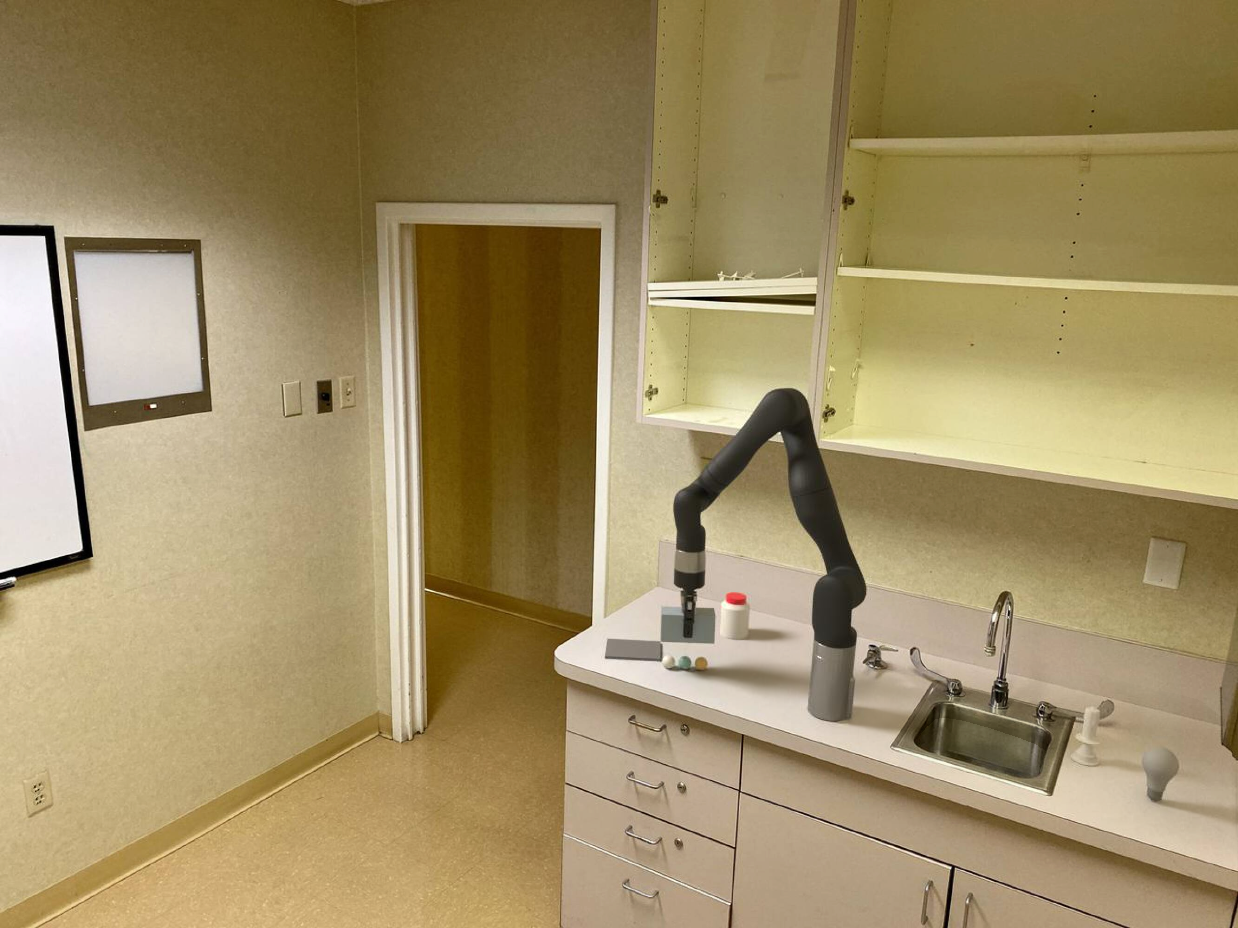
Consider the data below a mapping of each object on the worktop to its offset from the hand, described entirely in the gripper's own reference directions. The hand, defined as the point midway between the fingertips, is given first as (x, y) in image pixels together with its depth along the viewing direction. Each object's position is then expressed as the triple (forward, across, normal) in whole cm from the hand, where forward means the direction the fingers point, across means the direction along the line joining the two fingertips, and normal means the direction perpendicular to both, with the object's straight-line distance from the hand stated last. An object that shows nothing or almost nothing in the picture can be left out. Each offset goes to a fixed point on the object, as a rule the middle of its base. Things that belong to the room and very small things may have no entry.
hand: (687, 632), depth 221 cm
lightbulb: (+12, -48, -88) cm, 101 cm away
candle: (+12, -33, -82) cm, 89 cm away
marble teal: (+10, 0, 0) cm, 10 cm away
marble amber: (+10, 0, -4) cm, 10 cm away
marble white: (+10, 0, +4) cm, 11 cm away
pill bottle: (+10, +24, -14) cm, 29 cm away
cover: (+2, 0, 0) cm, 2 cm away
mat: (+9, +10, +13) cm, 19 cm away
